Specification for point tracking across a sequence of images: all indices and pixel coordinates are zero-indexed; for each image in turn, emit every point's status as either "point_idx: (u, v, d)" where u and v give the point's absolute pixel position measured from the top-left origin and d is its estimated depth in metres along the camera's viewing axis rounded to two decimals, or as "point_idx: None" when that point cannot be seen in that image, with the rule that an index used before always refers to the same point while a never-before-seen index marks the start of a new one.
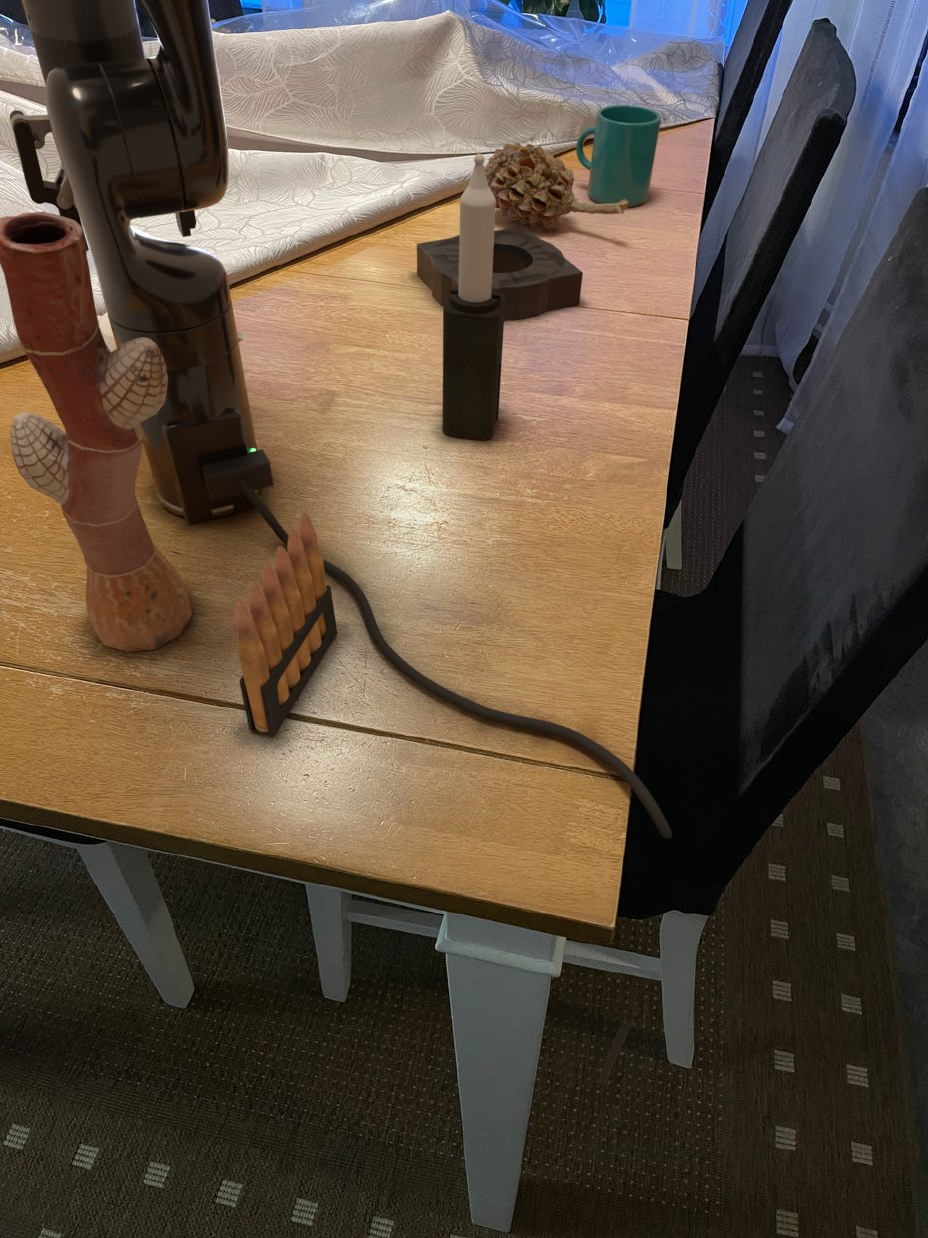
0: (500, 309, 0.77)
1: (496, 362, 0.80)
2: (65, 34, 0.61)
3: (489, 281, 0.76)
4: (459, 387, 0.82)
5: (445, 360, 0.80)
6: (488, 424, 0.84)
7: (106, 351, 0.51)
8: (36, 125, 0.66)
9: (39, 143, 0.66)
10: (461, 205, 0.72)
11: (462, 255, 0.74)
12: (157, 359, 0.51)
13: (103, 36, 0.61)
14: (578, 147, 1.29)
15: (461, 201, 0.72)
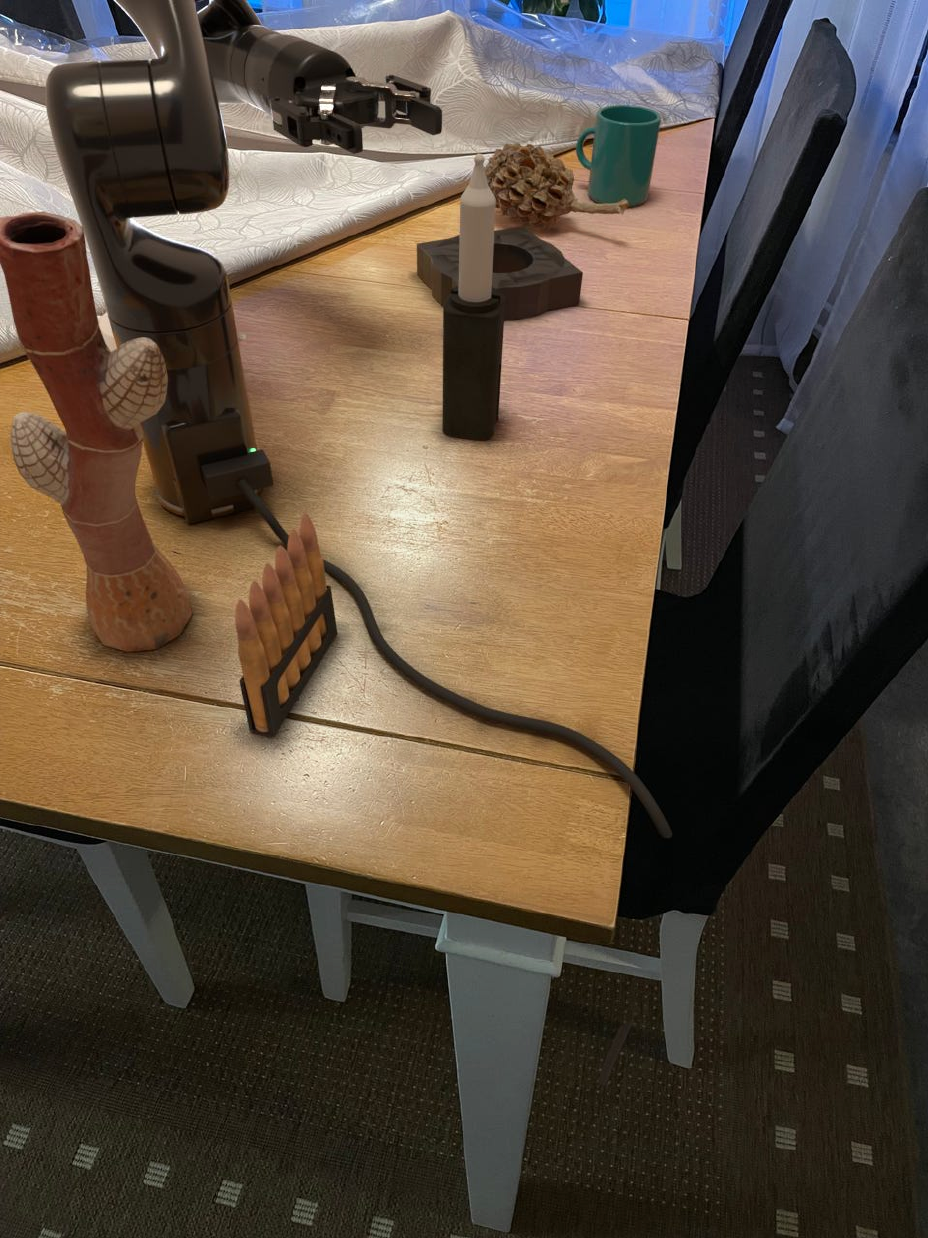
0: (500, 309, 0.77)
1: (496, 362, 0.80)
2: (280, 47, 0.81)
3: (489, 281, 0.76)
4: (459, 387, 0.82)
5: (445, 360, 0.80)
6: (488, 424, 0.84)
7: (106, 351, 0.51)
8: None
9: (291, 100, 0.77)
10: (461, 205, 0.72)
11: (462, 255, 0.74)
12: (157, 359, 0.51)
13: (303, 39, 0.82)
14: (578, 147, 1.29)
15: (461, 201, 0.72)
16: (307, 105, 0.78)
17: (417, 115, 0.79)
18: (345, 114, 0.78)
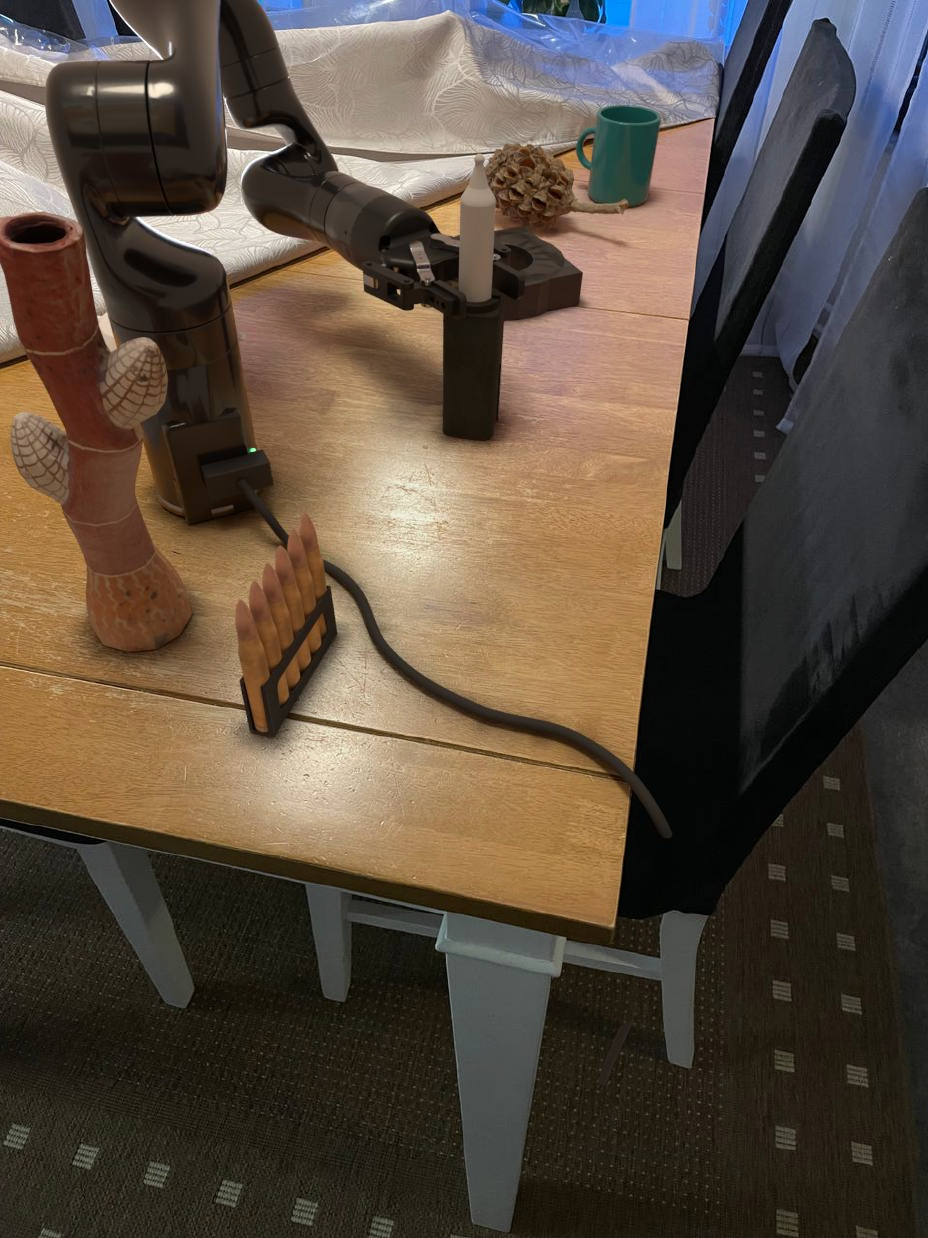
0: (500, 309, 0.77)
1: (496, 362, 0.80)
2: (363, 203, 0.82)
3: (489, 281, 0.76)
4: (459, 387, 0.82)
5: (445, 360, 0.80)
6: (488, 424, 0.84)
7: (106, 351, 0.51)
8: None
9: (384, 264, 0.78)
10: (461, 205, 0.72)
11: (462, 255, 0.74)
12: (157, 359, 0.51)
13: (385, 194, 0.83)
14: (578, 147, 1.29)
15: (461, 201, 0.72)
16: (394, 266, 0.79)
17: (498, 279, 0.79)
18: None
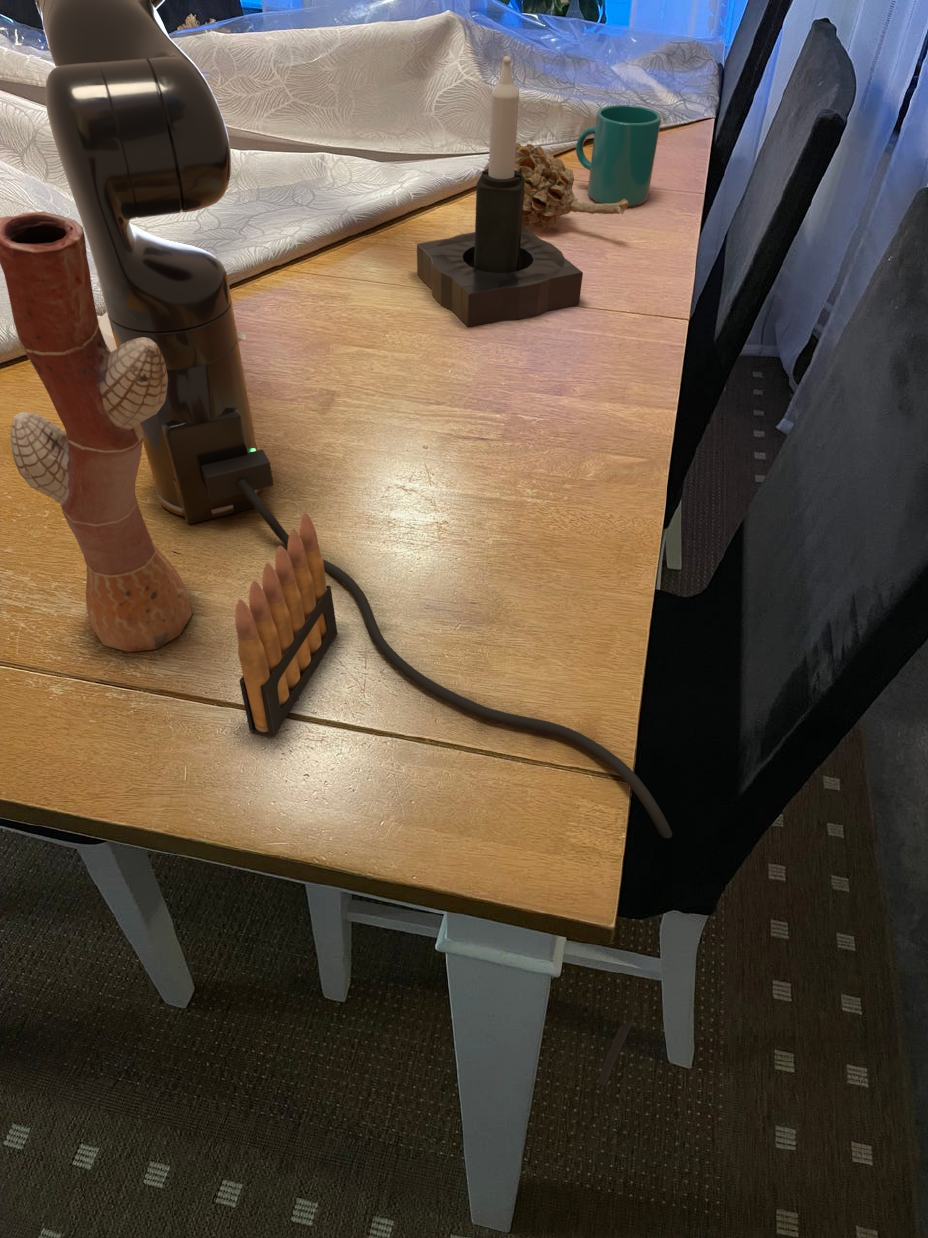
0: (521, 185, 0.99)
1: (518, 230, 1.02)
2: None
3: (513, 162, 0.98)
4: (488, 252, 1.03)
5: (477, 229, 1.02)
6: None
7: (106, 351, 0.51)
8: None
9: None
10: (492, 98, 0.93)
11: (492, 139, 0.96)
12: (157, 359, 0.51)
13: None
14: (578, 147, 1.29)
15: (492, 94, 0.93)
16: None
17: None
18: None
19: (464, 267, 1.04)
